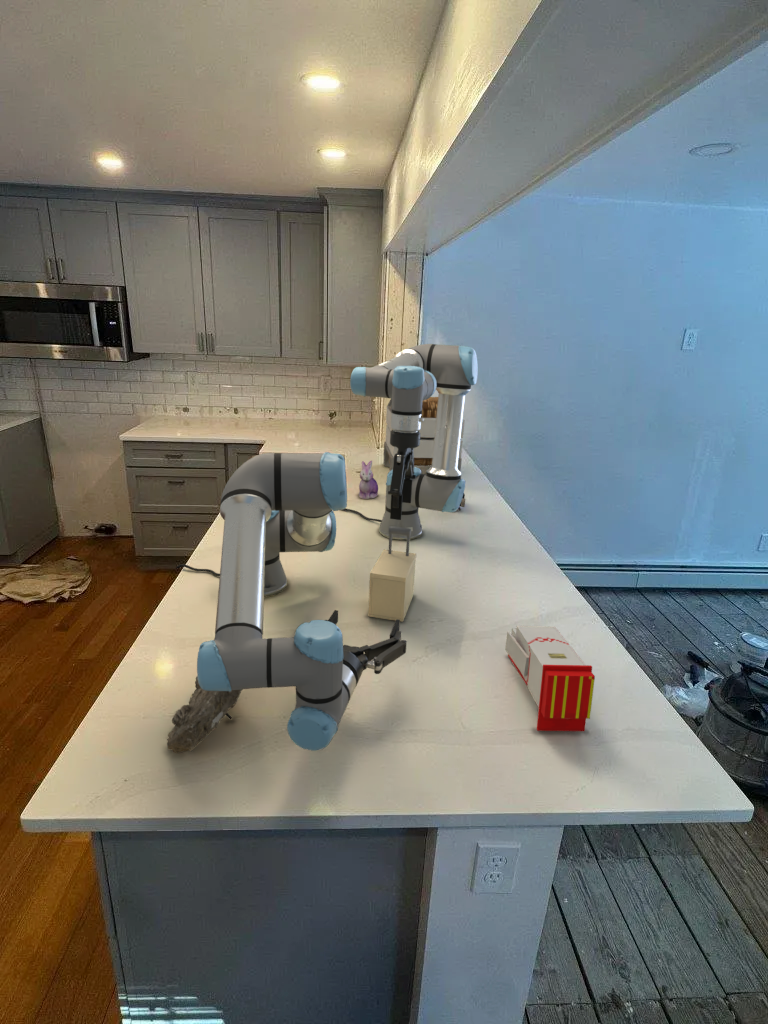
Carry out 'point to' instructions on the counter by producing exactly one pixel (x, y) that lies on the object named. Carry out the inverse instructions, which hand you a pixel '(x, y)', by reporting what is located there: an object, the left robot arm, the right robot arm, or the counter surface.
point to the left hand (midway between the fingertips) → (366, 620)
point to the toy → (552, 677)
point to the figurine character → (462, 502)
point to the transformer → (427, 434)
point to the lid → (394, 559)
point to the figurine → (367, 482)
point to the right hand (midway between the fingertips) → (401, 510)
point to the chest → (390, 597)
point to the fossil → (199, 717)
